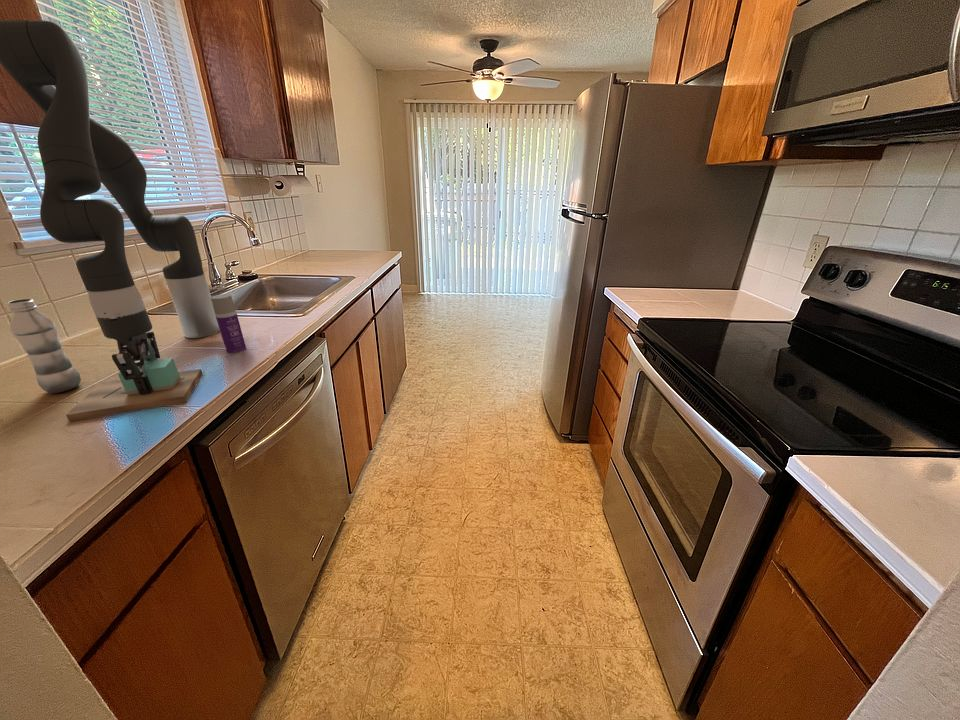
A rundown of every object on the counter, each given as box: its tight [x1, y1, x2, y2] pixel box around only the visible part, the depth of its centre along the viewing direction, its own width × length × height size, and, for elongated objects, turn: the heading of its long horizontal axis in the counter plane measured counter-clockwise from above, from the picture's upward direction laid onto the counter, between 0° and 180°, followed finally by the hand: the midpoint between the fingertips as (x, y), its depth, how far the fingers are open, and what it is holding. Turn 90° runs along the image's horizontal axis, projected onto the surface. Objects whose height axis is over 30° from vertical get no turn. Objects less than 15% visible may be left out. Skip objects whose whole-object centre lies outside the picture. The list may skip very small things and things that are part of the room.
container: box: [211, 293, 247, 356], centre depth 103 cm, size 5×5×15 cm
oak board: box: [65, 368, 204, 422], centre depth 84 cm, size 14×19×2 cm
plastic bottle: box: [7, 298, 82, 394], centre depth 83 cm, size 6×7×20 cm
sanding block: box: [117, 357, 180, 395], centre depth 83 cm, size 5×8×5 cm, turn 110°
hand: (151, 387), depth 84 cm, fingers closed on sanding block, 5 cm apart
